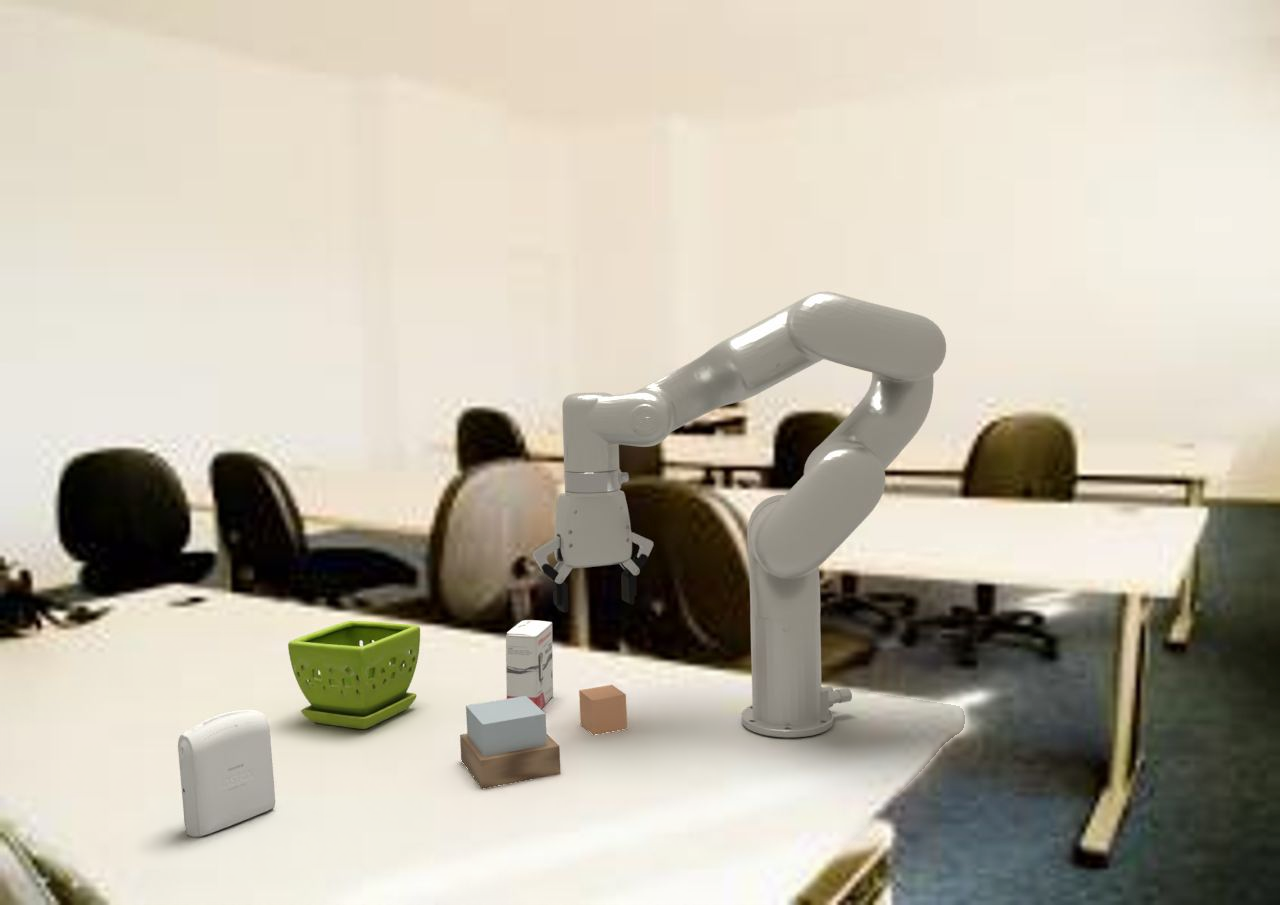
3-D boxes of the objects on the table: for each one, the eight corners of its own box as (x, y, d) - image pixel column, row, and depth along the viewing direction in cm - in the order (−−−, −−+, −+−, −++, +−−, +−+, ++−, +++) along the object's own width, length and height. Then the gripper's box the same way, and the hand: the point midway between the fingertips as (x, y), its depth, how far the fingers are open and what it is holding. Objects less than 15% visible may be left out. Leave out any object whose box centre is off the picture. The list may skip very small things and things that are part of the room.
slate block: (527, 725, 139) (525, 695, 139) (546, 745, 132) (545, 713, 132) (467, 735, 136) (465, 705, 136) (484, 756, 129) (482, 724, 129)
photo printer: (197, 842, 116) (188, 732, 115) (178, 831, 119) (169, 724, 118) (281, 809, 124) (275, 706, 123) (262, 800, 127) (255, 699, 126)
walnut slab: (535, 750, 141) (534, 721, 141) (560, 777, 132) (559, 745, 132) (461, 764, 137) (459, 734, 137) (482, 792, 128) (480, 760, 128)
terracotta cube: (613, 718, 152) (612, 684, 151) (627, 729, 147) (625, 694, 146) (580, 724, 150) (579, 690, 149) (593, 736, 145) (592, 700, 144)
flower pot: (428, 707, 159) (423, 624, 158) (367, 739, 146) (362, 649, 145) (353, 697, 165) (348, 617, 164) (289, 727, 152) (283, 640, 151)
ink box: (539, 715, 154) (536, 634, 153) (506, 713, 155) (502, 633, 154) (556, 696, 162) (552, 619, 161) (524, 694, 163) (521, 618, 162)
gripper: (639, 476, 152) (642, 594, 154) (523, 484, 145) (527, 607, 147) (661, 481, 145) (664, 604, 147) (539, 490, 139) (544, 619, 140)
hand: (595, 606), depth 147 cm, fingers open, 9 cm apart
